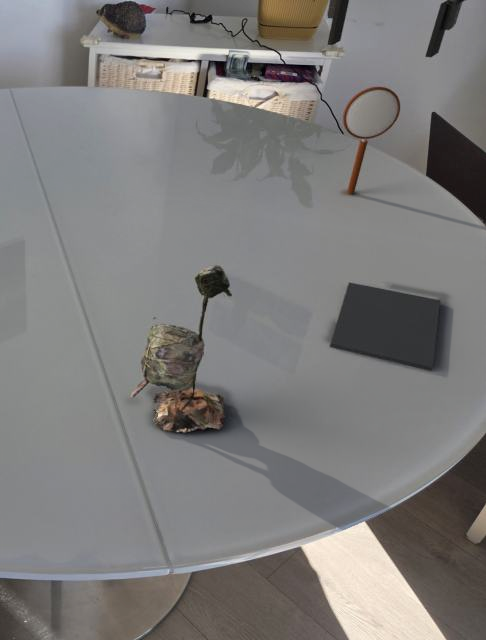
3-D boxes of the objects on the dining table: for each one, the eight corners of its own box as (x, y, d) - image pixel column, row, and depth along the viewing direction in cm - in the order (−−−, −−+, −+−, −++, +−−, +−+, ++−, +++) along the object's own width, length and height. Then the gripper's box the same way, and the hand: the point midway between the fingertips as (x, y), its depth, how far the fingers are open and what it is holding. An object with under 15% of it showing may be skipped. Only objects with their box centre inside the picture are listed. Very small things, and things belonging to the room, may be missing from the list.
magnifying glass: (324, 201, 117) (350, 89, 104) (322, 197, 118) (348, 85, 105) (375, 201, 115) (408, 88, 103) (373, 197, 116) (405, 84, 104)
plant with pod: (142, 380, 83) (149, 246, 70) (232, 400, 79) (256, 261, 66) (124, 423, 77) (127, 284, 65) (219, 447, 73) (243, 304, 61)
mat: (439, 303, 91) (440, 300, 90) (431, 371, 80) (433, 367, 80) (348, 285, 96) (348, 282, 95) (329, 346, 85) (330, 343, 85)
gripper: (314, -130, 83) (285, 44, 97) (538, -138, 69) (468, 67, 82) (340, -135, 87) (309, 32, 101) (556, -144, 73) (487, 53, 86)
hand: (380, 48), depth 91 cm, fingers open, 13 cm apart
